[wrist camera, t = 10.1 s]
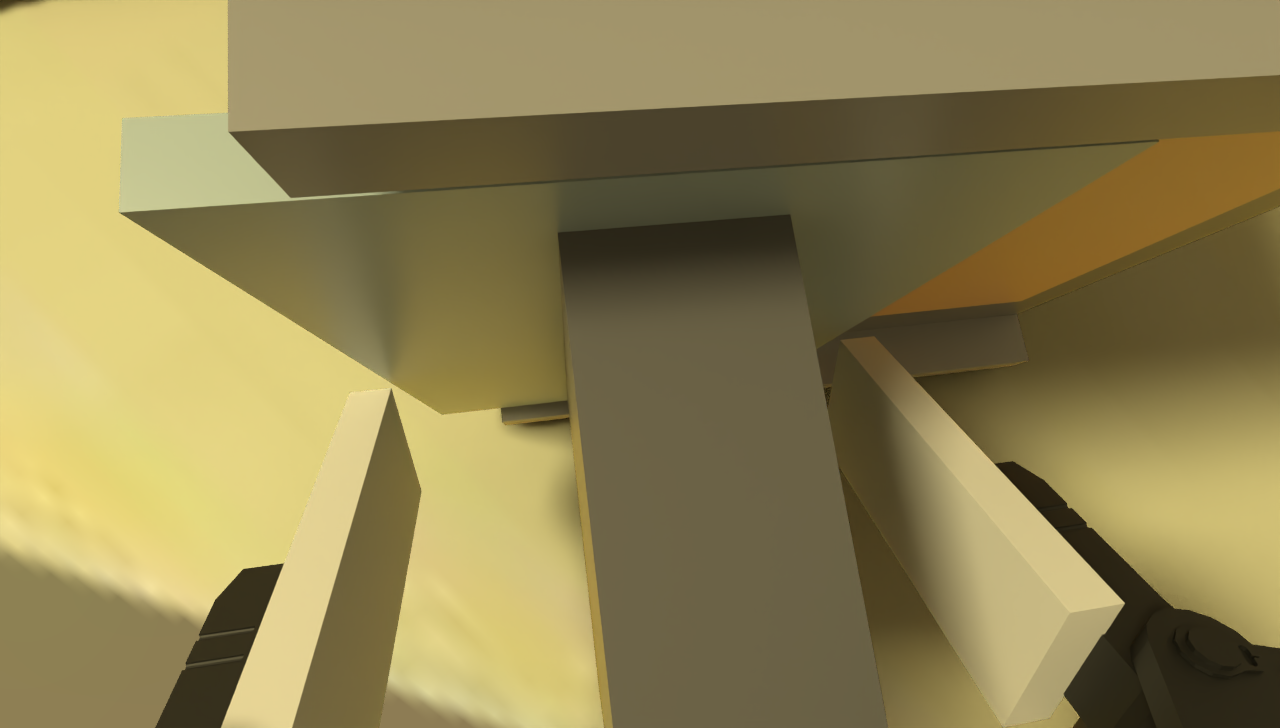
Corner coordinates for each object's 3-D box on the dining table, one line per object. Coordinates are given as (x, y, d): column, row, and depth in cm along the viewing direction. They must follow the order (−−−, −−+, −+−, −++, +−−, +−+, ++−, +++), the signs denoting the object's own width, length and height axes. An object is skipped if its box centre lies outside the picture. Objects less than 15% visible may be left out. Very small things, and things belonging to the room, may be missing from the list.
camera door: (764, 350, 18) (1135, 66, 6) (815, 640, 16) (1438, 1009, 5) (439, 385, 17) (122, 117, 5) (461, 700, 15) (78, 1406, 3)
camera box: (969, 37, 23) (1775, -896, 8) (1056, 363, 21) (2488, -33, 5) (474, 58, 21) (187, -1224, 5) (507, 427, 18) (158, 59, 3)
